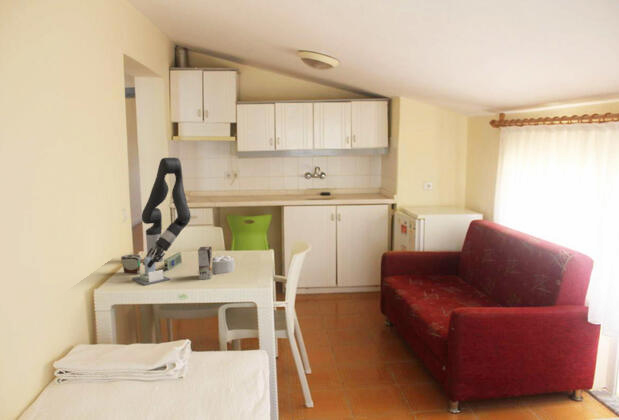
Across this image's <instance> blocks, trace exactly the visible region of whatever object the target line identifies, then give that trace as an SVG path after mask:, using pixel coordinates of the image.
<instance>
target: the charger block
mask: <svg viewBox="0 0 619 420" xmlns="http://www.w3.org/2000/svg"><path fill="white" fill-rule="evenodd" d="M152 258H153V257H152V256H149V257H146V256H145V257H143V263H144V265H145V266H144V265H143V266H144V274H147V275H148V272H153V271H157V270H156V262H155V263H154V264H153V265H152V266H151V268H149V267H148V266H147V265H148V263H149V262H150V261H151V260H152Z"/></svg>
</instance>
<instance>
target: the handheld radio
mask: <svg viewBox="0 0 619 420" xmlns="http://www.w3.org/2000/svg"><path fill="white" fill-rule="evenodd" d="M163 261H164V268H163V269H162V270H163V273H164V272H166V271H170V270H172V269H174V268H175V267H178V266H179V265H180V264H182V263H183V259H182V253H181V252H176V253H174V254H173V255H171V256H169V257H166V258H165V259H163Z"/></svg>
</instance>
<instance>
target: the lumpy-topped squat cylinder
mask: <svg viewBox="0 0 619 420" xmlns="http://www.w3.org/2000/svg"><path fill="white" fill-rule="evenodd" d="M235 265H236V264H235V258H234V257H232V256H230V255H222V254H221V255H218V256H214V257H212V268H213V275H224V274H230V273H233V272H234V271H235V270H236V268H235V267H236V266H235Z"/></svg>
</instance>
